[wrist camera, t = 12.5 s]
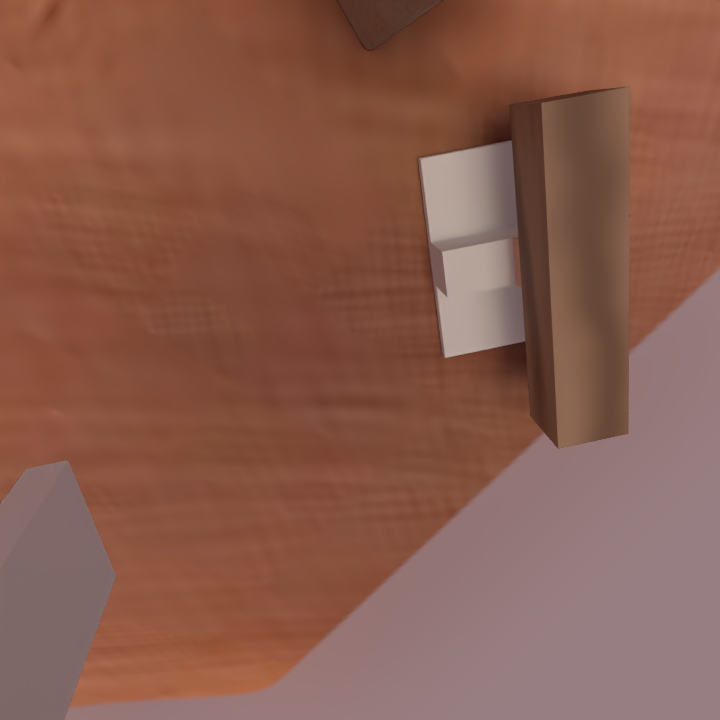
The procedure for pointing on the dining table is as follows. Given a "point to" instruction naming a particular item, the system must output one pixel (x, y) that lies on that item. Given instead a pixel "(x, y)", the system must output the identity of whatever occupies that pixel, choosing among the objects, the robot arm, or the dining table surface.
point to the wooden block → (382, 17)
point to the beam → (575, 260)
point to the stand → (474, 247)
